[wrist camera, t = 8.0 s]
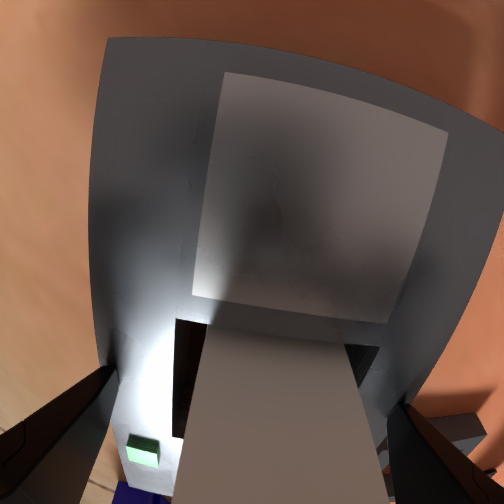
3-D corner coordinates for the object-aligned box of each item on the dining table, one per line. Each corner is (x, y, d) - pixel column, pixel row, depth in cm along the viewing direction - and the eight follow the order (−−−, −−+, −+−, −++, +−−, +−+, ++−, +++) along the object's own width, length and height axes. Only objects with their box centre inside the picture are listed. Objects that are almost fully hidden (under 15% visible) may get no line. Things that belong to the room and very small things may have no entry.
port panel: (454, 131, 9) (529, 145, 5) (315, 459, 16) (321, 514, 12) (156, 61, 8) (100, 34, 5) (143, 436, 15) (127, 492, 12)
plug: (330, 298, 11) (400, 533, 4) (300, 377, 13) (321, 571, 5) (217, 279, 11) (162, 533, 3) (204, 364, 13) (168, 564, 5)
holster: (475, 412, 15) (487, 434, 13) (416, 476, 18) (422, 495, 16) (373, 421, 14) (382, 450, 13) (324, 485, 17) (326, 508, 16)
